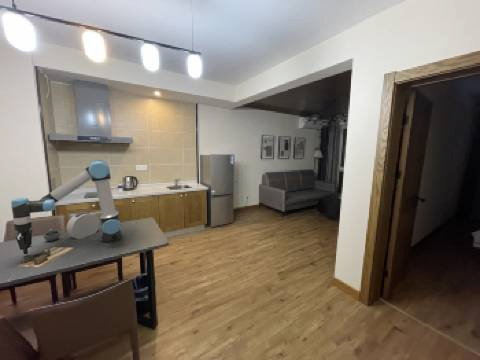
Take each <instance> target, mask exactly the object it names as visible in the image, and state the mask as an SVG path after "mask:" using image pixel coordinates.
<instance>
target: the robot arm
mask: <svg viewBox="0 0 480 360" xmlns="http://www.w3.org/2000/svg"><path fill="white" fill-rule="evenodd" d="M111 179H112V176H111V172H110V166H109V164H108V163H107V162H106V161H104V160H101V159H97V160H94V161H93V162H91V163H90V164H89V165H88V166H87V167H86V168H84V171H82V172H81V173H79V174H77V175H76V176H74V177H73V178H71V179H70V180H68V181H67V182H65V183H63V184H61V185H60V186H58V187H57V188H55V189H54V190H52V191H51V192H49V193H47V194H46V195H44V196H42V197H41V198H40V199H39V200H29V198H27V197H18V198H15V199H11V211H12V212H11V213H12V221H13V223H14V225H13V226H14V230H15V231H17V235H18V236H16V237H15V240H16V242H17V244H18V249H19V251H22V253H23V256H26V255H30V254H31V248H32V247H33V246H32V244H33V243H32V241H33V240H32V239H33V237H32V236H33V229H31V228H33V223H32V222H31V221H32V215H31V214H34V213H43V212H53V211H54V210H56V209H55V208H56V204H57V203H58V202H60V201H61V200H63V199H64V198H65V197H67V196H69V195H70V194H71V193H73V192H75V191H76V190H78V189H79V188H81V187H82V186H84V185H85V184H87V183H88V182H90V181H91V182H93V183H94V184H95V188H96V193H97V194H96V195H97V197H98V198H97V199H98V203H99V206H100V207H99V208H100V211H101V215H100V217H99V218H100V219H99V220H100V223H101V230H102V234H101V237H100V240H101V242H102V243H106V244H107V243H114V242H115V243H116V242H117V241H120V240H122V239H123V238H124V233H123V232H122V229H121V227H122V223H121V219H120V212H119V210H116V207H115V203H114V199H113V198H114V197H113V193H112V188H111V184H110V183H111V182H110V180H111Z"/></svg>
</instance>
